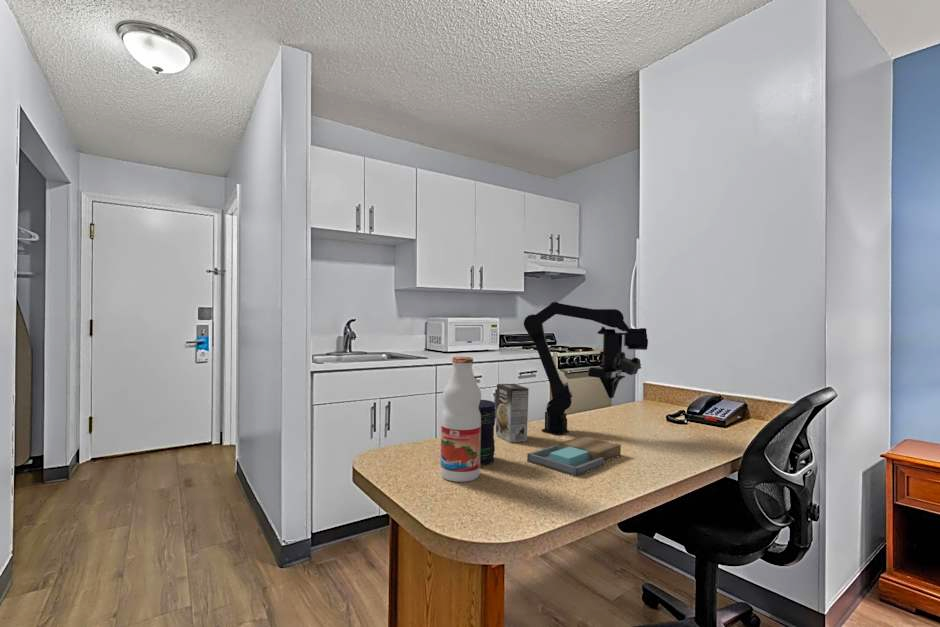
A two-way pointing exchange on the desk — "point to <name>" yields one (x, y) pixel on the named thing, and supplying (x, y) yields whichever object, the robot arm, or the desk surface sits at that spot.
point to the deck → (594, 447)
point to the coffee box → (512, 412)
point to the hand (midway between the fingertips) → (611, 397)
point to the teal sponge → (569, 456)
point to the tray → (544, 460)
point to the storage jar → (487, 431)
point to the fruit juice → (461, 424)
